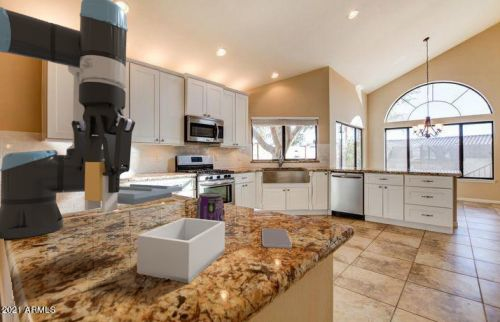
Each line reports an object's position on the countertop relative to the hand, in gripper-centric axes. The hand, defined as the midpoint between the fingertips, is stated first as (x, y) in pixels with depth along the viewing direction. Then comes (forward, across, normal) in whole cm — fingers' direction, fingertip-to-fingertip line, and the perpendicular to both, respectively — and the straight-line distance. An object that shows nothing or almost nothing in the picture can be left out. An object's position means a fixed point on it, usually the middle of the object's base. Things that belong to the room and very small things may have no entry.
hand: (101, 209), depth 44 cm
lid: (0, 0, +8) cm, 8 cm away
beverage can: (+12, +10, +24) cm, 29 cm away
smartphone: (+12, +27, +31) cm, 43 cm away
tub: (+12, +13, +9) cm, 19 cm away
